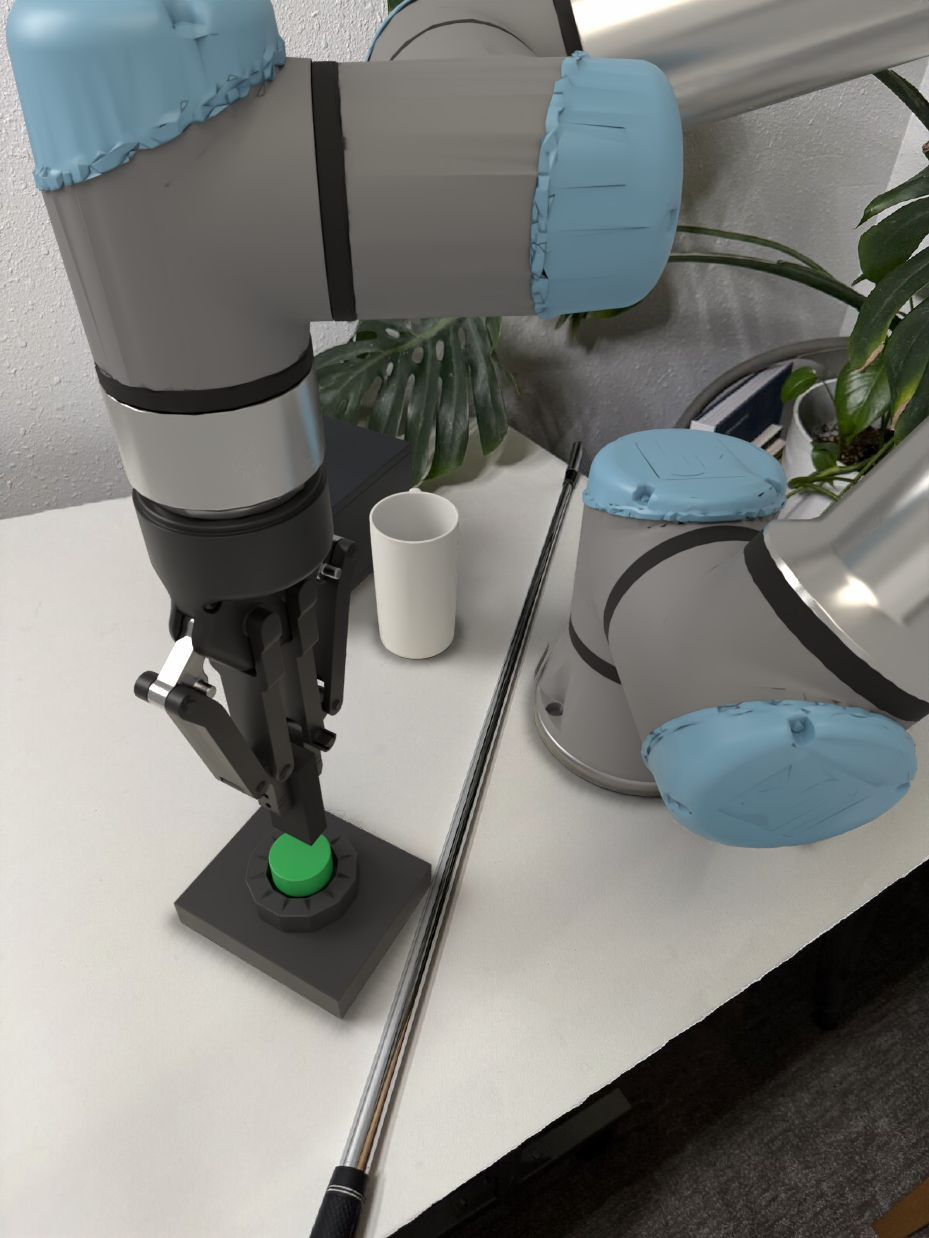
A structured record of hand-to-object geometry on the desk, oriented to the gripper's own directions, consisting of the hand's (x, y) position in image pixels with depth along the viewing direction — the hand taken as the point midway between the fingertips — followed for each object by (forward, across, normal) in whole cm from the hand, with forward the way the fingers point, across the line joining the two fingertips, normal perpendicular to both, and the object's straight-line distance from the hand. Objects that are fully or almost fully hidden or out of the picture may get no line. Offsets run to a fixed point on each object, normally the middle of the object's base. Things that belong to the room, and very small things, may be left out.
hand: (300, 826), depth 50 cm
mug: (+8, -26, -8) cm, 28 cm away
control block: (+8, 0, 0) cm, 8 cm away
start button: (+4, 0, 0) cm, 4 cm away
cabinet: (+8, -29, -22) cm, 37 cm away
